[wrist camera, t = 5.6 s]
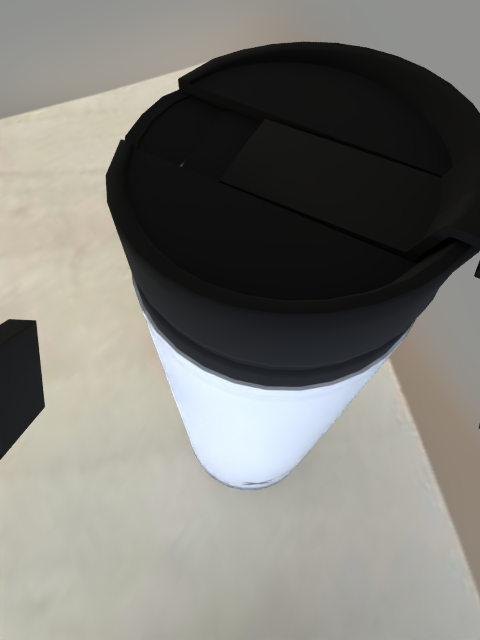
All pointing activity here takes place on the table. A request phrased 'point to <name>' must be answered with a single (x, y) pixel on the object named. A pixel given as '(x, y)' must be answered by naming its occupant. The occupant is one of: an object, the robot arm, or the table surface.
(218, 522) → the table surface
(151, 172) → the travel mug
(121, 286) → the table surface
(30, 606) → the table surface
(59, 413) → the table surface
